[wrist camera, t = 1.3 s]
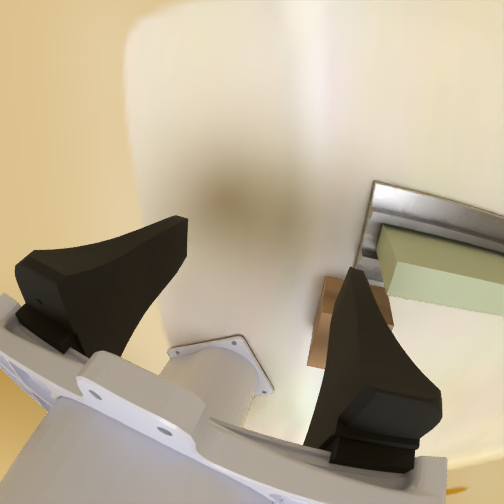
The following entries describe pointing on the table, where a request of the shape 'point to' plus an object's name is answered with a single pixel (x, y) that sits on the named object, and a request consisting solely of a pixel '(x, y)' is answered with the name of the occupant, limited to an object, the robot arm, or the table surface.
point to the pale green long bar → (441, 270)
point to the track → (424, 222)
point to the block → (325, 314)
